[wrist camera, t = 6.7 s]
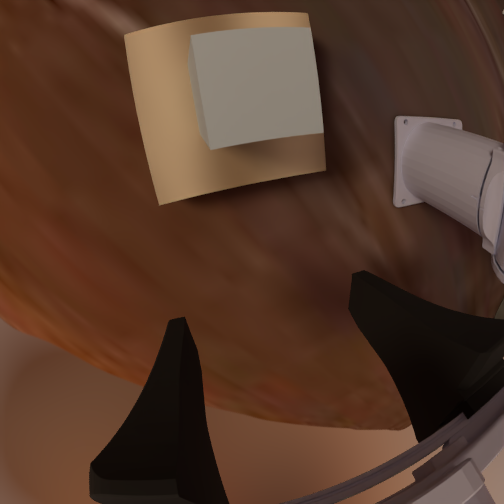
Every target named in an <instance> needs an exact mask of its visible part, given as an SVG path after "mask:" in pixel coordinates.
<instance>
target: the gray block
mask: <svg viewBox="0 0 504 504" xmlns="http://www.w3.org/2000/svg"><path fill="white" fill-rule="evenodd" d="M187 64H188V70H189V76H190V82H191V88H192V93H193V99H194V105H195V110H196V116H197V121H198V127H199V132H200V135H201V137H202V138H203V140H204V141H205V143H206V144H207V146H208V147H209V149H210V150H213V149H218V148H223V147H228V146H234V145H239V144H245V143H250V142H256V141H263V140H269V139H276V138H283V137H290V136H298V135H307V134H316V133H324V130H323V119H322V108H321V99H320V90H319V82H318V74H317V66H316V59H315V52H314V46H313V40H312V34H311V28H308V27H262V28H245V29H233V30H224V31H215V32H208V33H201V34H195V35H191V38H190V46H189V54H188V63H187Z"/></svg>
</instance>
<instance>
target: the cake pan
mask: <svg viewBox="0 0 504 504" xmlns="http://www.w3.org/2000/svg"><path fill="white" fill-rule="evenodd" d="M494 319H504V299H503V301H502V303H501V305H500V307H499V309H498V311H497V313H496V315H495V318H494Z"/></svg>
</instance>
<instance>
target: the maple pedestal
mask: <svg viewBox="0 0 504 504" xmlns="http://www.w3.org/2000/svg"><path fill="white" fill-rule="evenodd" d="M262 27H308V28H310V23H309V18H308V13H295V12H256V13H238V14H226V15H217V16H209V17H201V18H195V19H189V20H183V21H178V22H173V23H168V24H164V25H159V26H155V27H151V28H147V29H143V30H139V31H136V32H132V33H129V34H126V35H124V37H125V45H126V52H127V59H128V65H129V71H130V77H131V83H132V89H133V94H134V100H135V105H136V110H137V115H138V120H139V124H140V129H141V134H142V138H143V143H144V147H145V151H146V155H147V160H148V164H149V168H150V172H151V176H152V179H153V183H154V187H155V191H156V195H157V198H158V202H159V205H162V204H166V203H170V202H174V201H178V200H182V199H186V198H190V197H194V196H198V195H203V194H207V193H211V192H216V191H220V190H225V189H229V188H234V187H239V186H243V185H248V184H253V183H258V182H263V181H268V180H274V179H279V178H284V177H290V176H296V175H302V174H307V173H314V172H320V171H326V160H325V145H324V133H316V134H307V135H298V136H290V137H283V138H276V139H269V140H263V141H256V142H250V143H245V144H239V145H234V146H228V147H223V148H218V149H213V150H210V149H209V147H208V146H207V144H206V143H205V141H204V140H203V138H202V137H201V135H200V132H199V127H198V121H197V116H196V110H195V105H194V99H193V93H192V88H191V82H190V76H189V70H188V64H187V63H188V54H189V46H190V38H191V35H195V34H201V33H208V32H215V31H224V30H233V29H245V28H262Z"/></svg>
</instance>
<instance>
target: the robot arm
mask: <svg viewBox="0 0 504 504" xmlns="http://www.w3.org/2000/svg"><path fill="white" fill-rule="evenodd" d="M404 120H405V124H404ZM402 200H403V201H402ZM421 202H426V203H428V204H429V205H431V206H433V207H435V208H436V209H438V210H440V211H442V212H443V213H445V214H447V215H448V216H450V217H452V218H453V219H455V220H457V221H458V222H460V223H461V224H463V225H465V226H466V227H468V228H469V229H471V230H472V231H474V232H476V233H477V234H479V235H480V236H482V237H483V243H482V247H483V248H484V249H486V250H487V251H488V252H490V253H491V254H492V255H491V264H492V267H493V270H494V272H495V274H496V275H497V277H498V278H499V279H500V281H501V282H502V283H503V284H504V143H501V142H498V141H495V140H492V139H490V138H487V137H483V136H480V135H477V134H474V133H471V132H467V131H464V130H462V122H461V121H460V120H457V119H447V118H434V117H417V116H397V117H396V118H395V175H394V196H393V204H394V206H396V207H403V206H408V205H412V204H417V203H421ZM348 309H349V311H350V313H351V315H352V317H353V319H354V320H355V322H356V324H357V326H358V328H359V329H360V330H361V332H362V333H363V335H364V336H365V337H366V339H367V340H368V342H369V343H370V344H371V346H372V347H373V349H374V350H375V351H376V353H377V354H378V356H379V357H380V358H381V360H382V361H383V363H384V364H385V366H386V367H387V369H388V371H389V373H390V375H391V377H392V379H393V380H394V382H395V384H396V386H397V389H398V391H399V393H400V395H401V397H402V399H403V402H404V404H405V407H406V409H407V412H408V414H409V417H410V420H411V423H412V426H413V429H414V432H415V436H416V439H417V441H418V443H419V444H417V445H416V446H414V447H412V448H410V449H409V450H407V451H405V452H404V453H402V454H400V455H398V456H397V457H395V458H393V459H391V460H389V461H388V462H386V463H384V464H382V465H380V466H378V467H376V468H374V469H372V470H370V471H368V472H365V473H363V474H361V475H359V476H357V477H355V478H352V479H350V480H348V481H345V482H343V483H340V484H338V485H335V486H333V487H330V488H327V489H325V490H322V491H319V492H317V493H313V494H311V495H307V496H304V497H301V498H298V499H294V500H291V501H287V502H284V503H280V504H334V503H337V502H339V501H342V500H344V499H347V498H349V497H352V496H354V495H356V494H358V493H361V492H363V491H365V490H367V489H369V488H371V487H373V486H375V485H377V484H379V483H381V482H383V481H385V480H387V479H389V478H391V477H393V476H394V475H396V474H398V473H400V472H401V471H403V470H405V469H407V468H408V467H410V466H412V465H413V464H415V463H417V462H418V461H420V460H421V459H423V458H424V457H426V456H427V455H429V454H430V453H432V452H433V451H435V450H436V449H438V448H439V447H440V446H442V445H443V444H444V445H443V448H442V451H440V452H439V453H438V454H437V455H435V456H434V457H432V458H431V459H430V460H428V461H427V462H426V463H424V464H423V465H422V466H420V467H419V468H417V469H416V470H414V471H413V472H412V474H413V476H414V478H415V482H414V483H412V484H410V485H409V486H407V487H405V488H404V489H402V490H400V491H398V492H396V493H395V494H393V495H391V496H389V497H387V498H385V499H383V500H381V501H379V502H377V503H375V504H495V502H494V500H493V499H492V497H491V495H490V493H489V491H488V490H487V488H486V486H485V484H484V481H485V479H484V477H483V475H482V474H481V473H482V472H483V471H484V469H486V468H487V466H488V465H489V464H490V463H491V462H492V461H493V460H494V458H495V457H496V456H497V455H498V454H499V453H500V452H501V450H502V449H503V448H504V360H503V357H504V319H493V318H484V317H479V316H473V315H469V314H464V313H461V312H457V311H453V310H450V309H447V308H444V307H441V306H439V305H436V304H433V303H431V302H428V301H426V300H424V299H421V298H419V297H417V296H415V295H413V294H410V293H408V292H406V291H404V290H402V289H400V288H398V287H396V286H395V285H393V284H391V283H389V282H387V281H385V280H383V279H381V278H379V277H377V276H375V275H373V274H371V273H369V272H367V271H365V270H363V271H360V272H357V273H353V274H352V283H351V292H350V300H349V308H348ZM89 485H90V486H89V489H90V497H91V498H92V499H93V500H94V501H96V502H99V503H101V504H229V502H228V499H227V496H226V493H225V490H224V487H223V484H222V481H221V477H220V474H219V471H218V467H217V464H216V460H215V456H214V453H213V449H212V445H211V441H210V437H209V432H208V427H207V422H206V415H205V404H204V393H203V381H202V371H201V366H200V360H199V355H198V350H197V348H196V345H195V342H194V340H193V337H192V335H191V332H190V330H189V327H188V324H187V322H186V319H185V317H181V318H176V319H172V320H170V321H169V322H168V325H167V329H166V332H165V335H164V338H163V341H162V344H161V347H160V350H159V353H158V355H157V358H156V361H155V363H154V366H153V368H152V370H151V373H150V375H149V377H148V380H147V382H146V384H145V386H144V388H143V390H142V392H141V394H140V396H139V398H138V400H137V402H136V403H135V405H134V407H133V409H132V410H131V412H130V414H129V415H128V417H127V418H126V420H125V421H124V423H123V424H122V426H121V427H120V429H119V430H118V431H117V433H116V434H115V435H114V437H113V438H112V439H111V441H110V442H109V443H108V444H107V446H106V447H105V448H104V449H103V450H102V451H101V453H100V454H99V455H98V456H97V457H96V458H95V459H94V460H93V461H92V462H91V464H90V472H89Z"/></svg>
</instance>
